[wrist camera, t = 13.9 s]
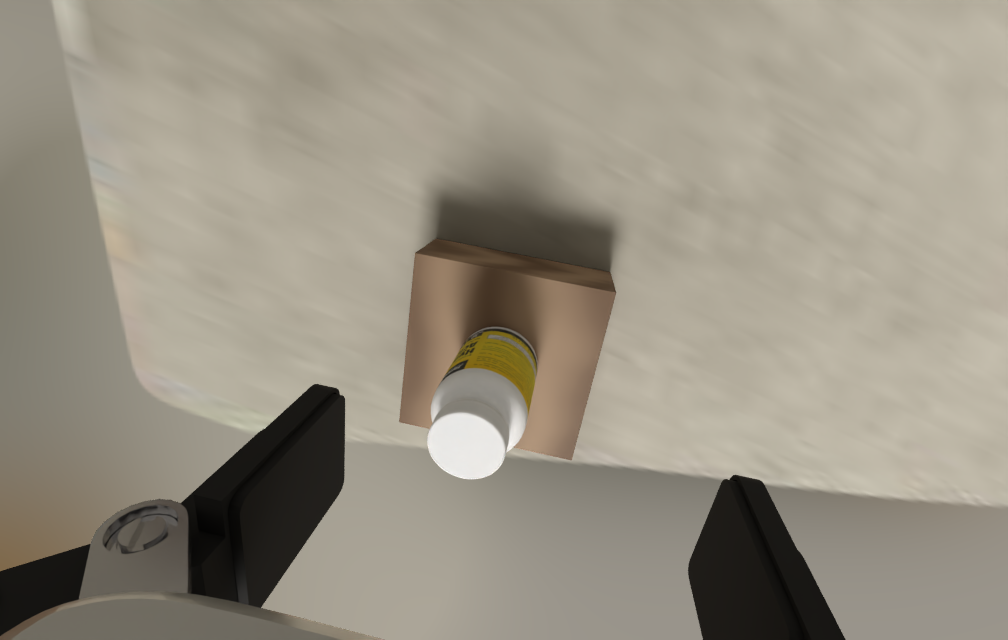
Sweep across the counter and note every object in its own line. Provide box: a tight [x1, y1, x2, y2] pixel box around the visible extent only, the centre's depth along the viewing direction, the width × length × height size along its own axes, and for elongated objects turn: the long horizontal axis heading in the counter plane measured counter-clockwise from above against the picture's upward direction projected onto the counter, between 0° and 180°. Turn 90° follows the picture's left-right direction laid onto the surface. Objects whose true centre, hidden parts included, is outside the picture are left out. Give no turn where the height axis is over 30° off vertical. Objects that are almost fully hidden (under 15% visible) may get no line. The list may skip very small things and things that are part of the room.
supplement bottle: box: [427, 327, 538, 479], centre depth 28 cm, size 5×5×10 cm
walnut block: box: [399, 239, 616, 460], centre depth 34 cm, size 13×13×5 cm
